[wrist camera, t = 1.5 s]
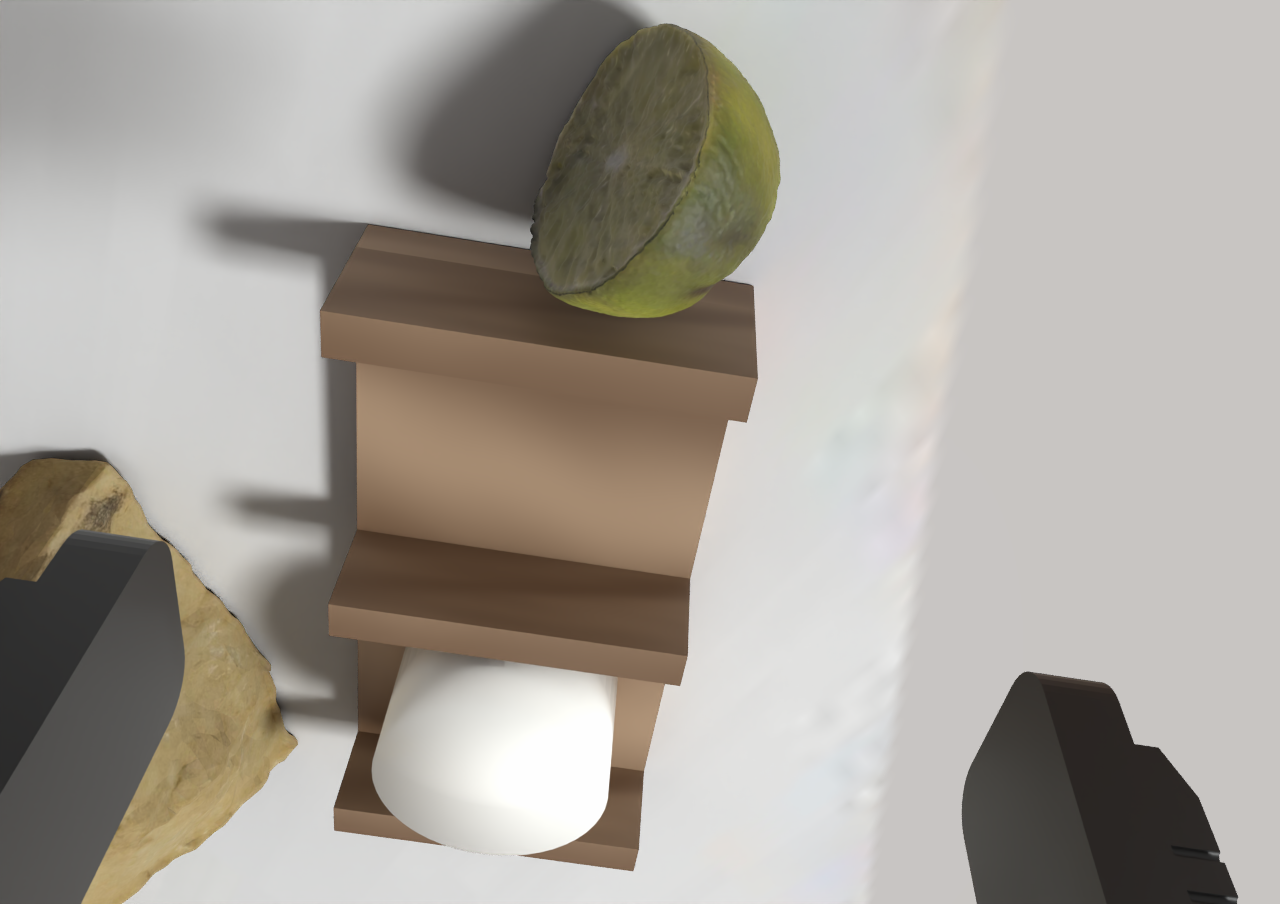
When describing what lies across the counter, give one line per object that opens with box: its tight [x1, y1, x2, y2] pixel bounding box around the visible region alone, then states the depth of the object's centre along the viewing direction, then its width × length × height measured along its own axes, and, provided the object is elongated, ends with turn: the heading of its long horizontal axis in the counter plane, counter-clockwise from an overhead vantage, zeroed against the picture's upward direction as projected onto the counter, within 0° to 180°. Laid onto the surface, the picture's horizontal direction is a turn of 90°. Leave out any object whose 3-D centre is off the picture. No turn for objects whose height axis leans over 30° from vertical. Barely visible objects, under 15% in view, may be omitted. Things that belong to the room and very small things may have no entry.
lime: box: [530, 24, 780, 318], centre depth 20 cm, size 4×5×5 cm
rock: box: [0, 458, 298, 904], centre depth 28 cm, size 11×9×10 cm
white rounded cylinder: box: [372, 647, 618, 856], centre depth 28 cm, size 6×6×4 cm
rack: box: [320, 224, 758, 871], centre depth 27 cm, size 16×8×4 cm, turn 171°
